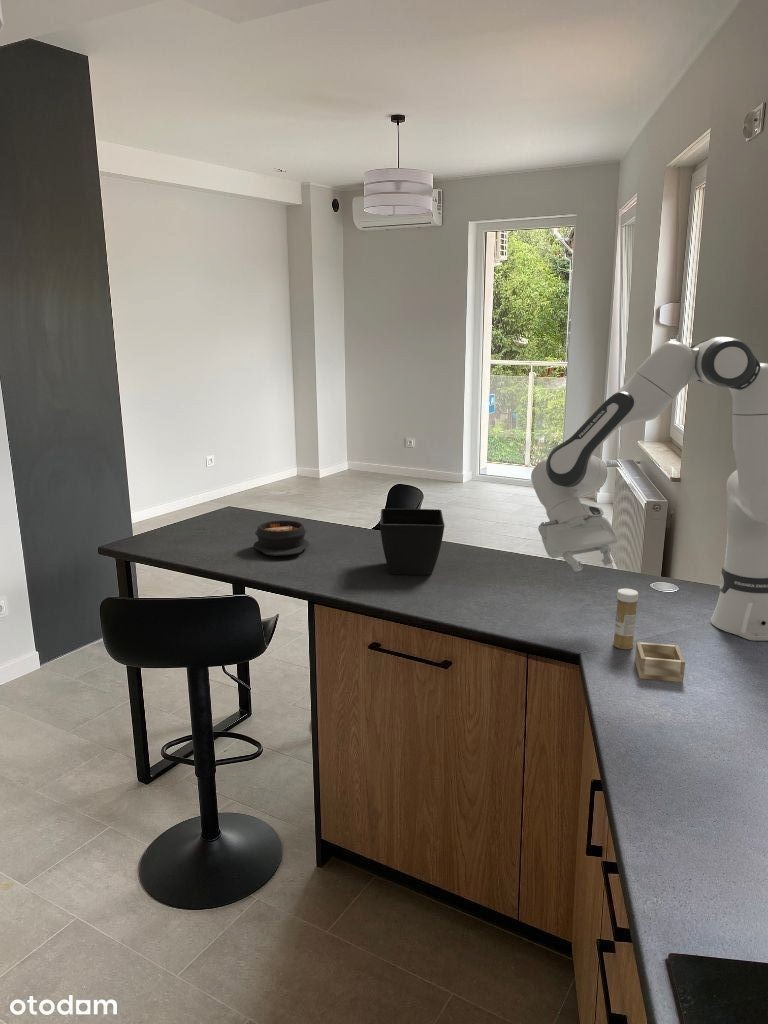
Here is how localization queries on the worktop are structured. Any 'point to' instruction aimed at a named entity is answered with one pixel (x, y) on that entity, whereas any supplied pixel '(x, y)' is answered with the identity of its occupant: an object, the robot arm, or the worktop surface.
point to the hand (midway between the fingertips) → (594, 567)
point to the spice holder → (659, 662)
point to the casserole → (281, 538)
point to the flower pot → (411, 539)
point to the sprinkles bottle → (625, 618)
